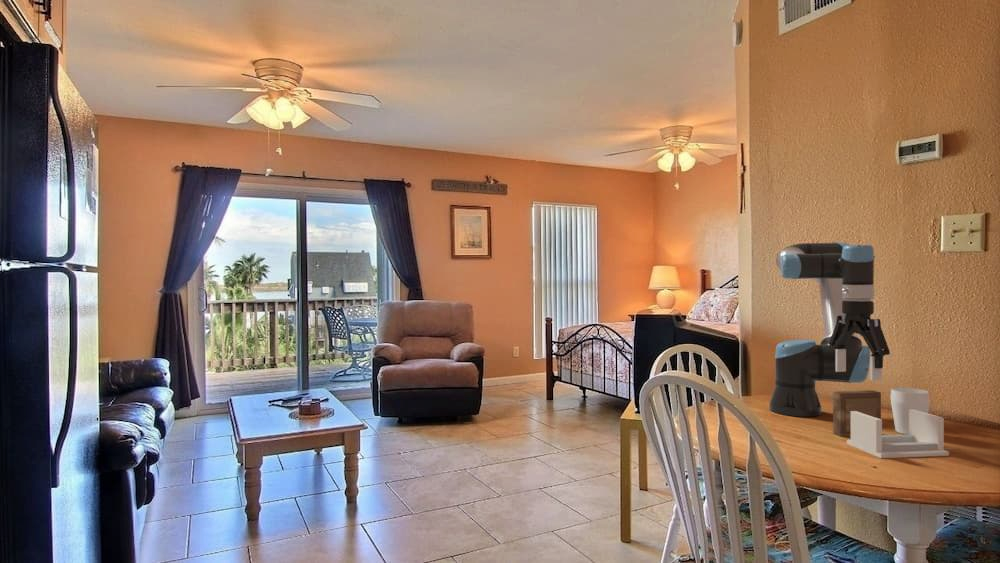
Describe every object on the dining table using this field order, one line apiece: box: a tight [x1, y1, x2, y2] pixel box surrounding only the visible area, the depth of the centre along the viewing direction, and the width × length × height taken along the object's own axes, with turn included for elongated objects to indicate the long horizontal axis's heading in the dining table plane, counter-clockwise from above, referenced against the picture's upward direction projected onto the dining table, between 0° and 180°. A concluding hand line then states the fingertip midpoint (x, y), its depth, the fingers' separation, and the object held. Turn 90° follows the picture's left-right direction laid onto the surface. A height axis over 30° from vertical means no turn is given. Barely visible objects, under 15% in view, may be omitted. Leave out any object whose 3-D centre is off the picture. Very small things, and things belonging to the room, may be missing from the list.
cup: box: [890, 386, 931, 435], centre depth 161 cm, size 9×9×12 cm
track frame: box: [846, 409, 950, 459], centre depth 145 cm, size 12×18×9 cm, turn 95°
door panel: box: [832, 389, 882, 438], centre depth 159 cm, size 3×12×12 cm, turn 95°
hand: (857, 375), depth 159 cm, fingers open, 13 cm apart
